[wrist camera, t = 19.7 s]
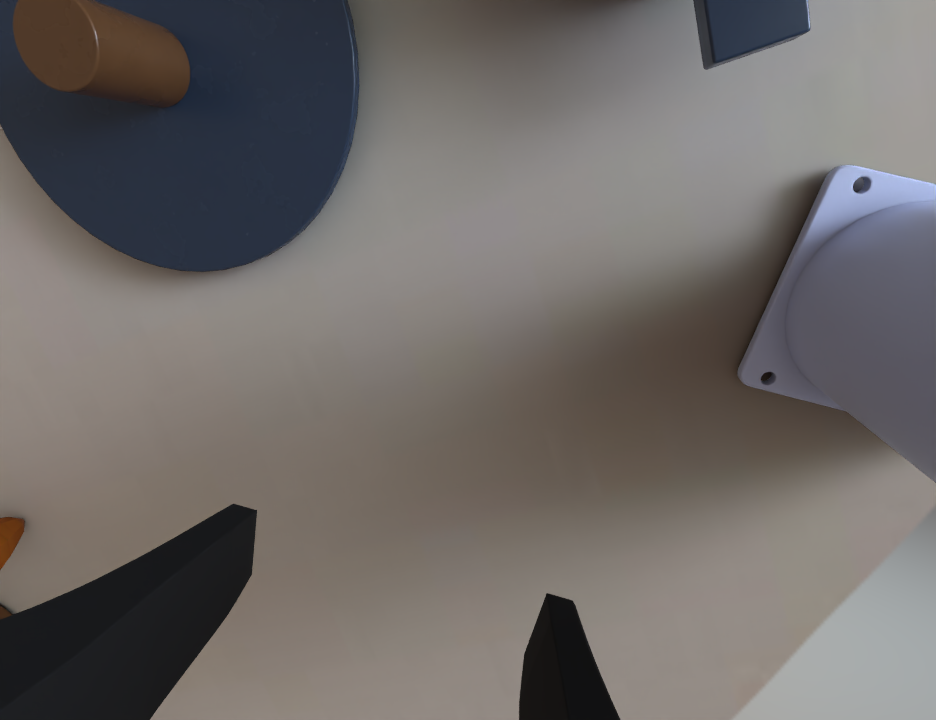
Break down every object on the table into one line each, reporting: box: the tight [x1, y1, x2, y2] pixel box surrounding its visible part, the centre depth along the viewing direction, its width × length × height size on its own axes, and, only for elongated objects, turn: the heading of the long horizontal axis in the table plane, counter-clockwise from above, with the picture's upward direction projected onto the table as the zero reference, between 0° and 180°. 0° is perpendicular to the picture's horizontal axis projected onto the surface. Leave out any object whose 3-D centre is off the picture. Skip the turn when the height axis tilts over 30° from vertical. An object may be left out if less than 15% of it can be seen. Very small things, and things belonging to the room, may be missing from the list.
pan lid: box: [0, 0, 359, 272], centre depth 17 cm, size 14×14×5 cm
